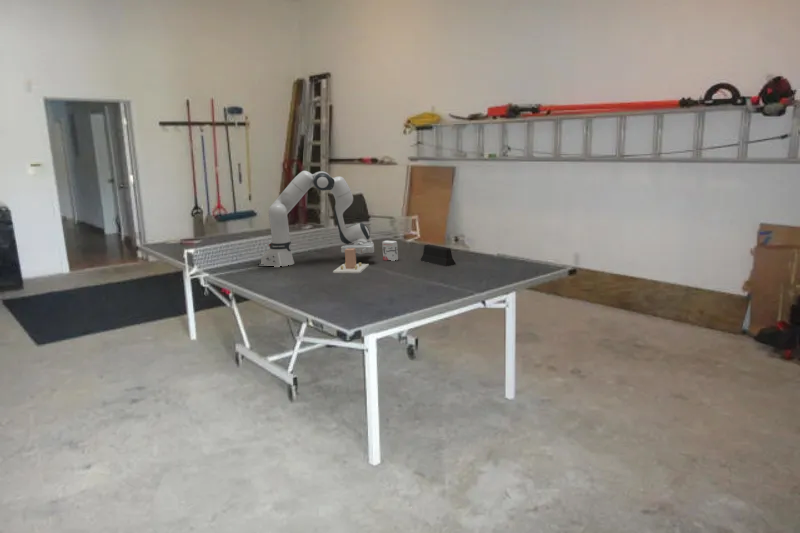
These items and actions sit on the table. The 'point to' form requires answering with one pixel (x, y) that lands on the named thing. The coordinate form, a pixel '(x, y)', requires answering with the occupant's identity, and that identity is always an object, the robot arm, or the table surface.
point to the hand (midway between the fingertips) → (354, 251)
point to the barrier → (437, 255)
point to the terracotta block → (350, 258)
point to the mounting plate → (357, 269)
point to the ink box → (390, 250)
